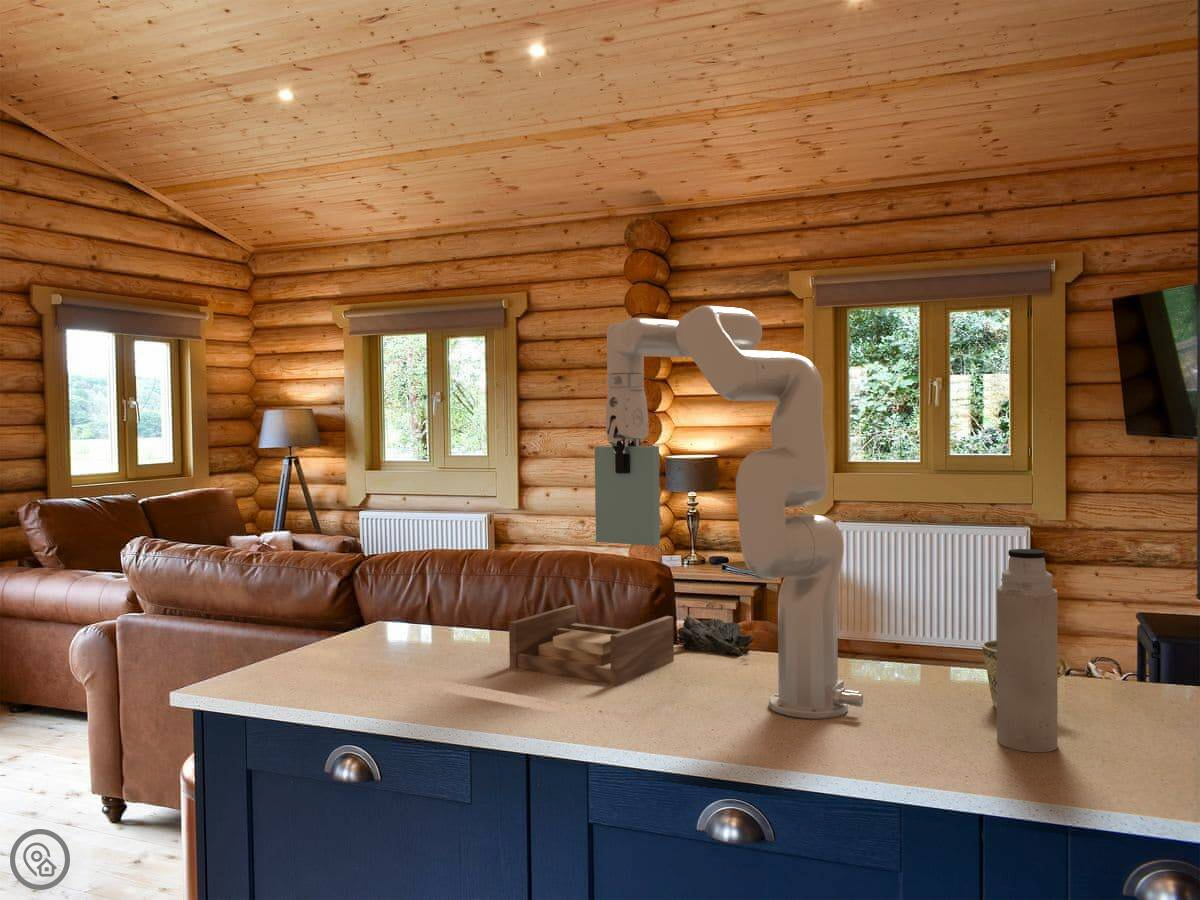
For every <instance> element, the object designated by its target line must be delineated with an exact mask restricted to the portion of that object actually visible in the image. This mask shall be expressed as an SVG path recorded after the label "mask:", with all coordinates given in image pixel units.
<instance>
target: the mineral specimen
mask: <svg viewBox="0 0 1200 900" xmlns="http://www.w3.org/2000/svg"><path fill="white" fill-rule="evenodd" d="M677 634H678V635H677V636H676V637H675V638H676V639H678V640H676V642H677V643H680V644H682V647H683V648H684V650H687V651H688V652H689V651H690V652H700V653H709V654H716V655H721V656H723V655H724V656H725V655H735V656H739V657H741V656H744V654H746V653H748V652H750V650H751V647H749V646H750V644H752V643H753V642H754V640H755V639H754V636H753V634H751V635H745V634H741V626H740V624H739V623H737V622H735V621H734V622H732V621H731V622H725V621H723V620H722V619H717V620H716V619H710V620H702V621H699V620H697V619H696V618H694V616H693V614H691V613H688V615H687V616H686V618H683V624H682V627H679V628H678V629H677Z"/></svg>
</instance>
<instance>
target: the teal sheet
mask: <svg viewBox="0 0 1200 900" xmlns="http://www.w3.org/2000/svg"><path fill="white" fill-rule="evenodd" d="M627 454H630V473H616V472H615V454H614V448H613V446H612V445H610V446H609V445H608V446H607V445H603V446H602V445H600V446H599V445H598V446H597V445H596V446H594V488H595V489H594V494H595V495H594V501H595V503H594V505H595V506H594V507H595V512H594V513H595V543H605V544H607V543H608V544H621V545H622V544H624V545H637V546H653V547H654V546H658V545H660V544H661V526H660V525H661V522H660V521H661V519H660V518H661V515H660V514H661V513H660V512H661V508H660V507H661V505H660V503H661V502H660V500H661V499H660V498H661V497H660V446H659V445H649V446H648V445H647V446H646V445H640V446H628V453H627Z"/></svg>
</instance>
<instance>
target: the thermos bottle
mask: <svg viewBox="0 0 1200 900" xmlns="http://www.w3.org/2000/svg"><path fill="white" fill-rule="evenodd" d="M1007 551H1008V552H1007V553H1008V556H1009V559H1008V568H1007V569H1005V570H1003V571H1002V573H1001V579H1000V581H1001V585H999V586H997V587H996V640H997V708H996V740H997V742H998V744H1000V745H1002V746H1004V747H1005V748H1008V749H1013V750H1016V751H1021V752H1022V751H1023V752H1028V753H1047V752H1052V751H1054V750H1057V749H1058V736H1059V735H1058V732H1059V731H1058V725H1059V724H1058V678H1057V675H1058V662H1057V658H1058V628H1059V627H1058V621H1059V620H1058V619H1059V618H1058V614H1059V613H1058V611H1059V610H1058V606H1059V605H1058V598H1059V597H1058V590H1057V589H1056V588H1054V587H1053V581H1054V579H1053V574H1052V573H1050V571H1047V569H1046V561H1045V558H1046V555H1047V554H1046V551H1045V550H1042V549H1041V550H1039V549H1031V548H1013V549H1009V550H1007Z"/></svg>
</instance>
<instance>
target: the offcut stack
mask: <svg viewBox="0 0 1200 900" xmlns="http://www.w3.org/2000/svg"><path fill="white" fill-rule="evenodd" d="M610 636H611V635H609V634H602V633H594V632H586V631H579V630H573V631H570V632H567V633H564V634H561V635H557V636H554V637H553V641H550V642H547V643H544V644H541V645H539V657H546V658H552V659H559V660H565V661H572V662H579V663H585V664H592V665H598V666H605V667H611V647H610Z"/></svg>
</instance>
